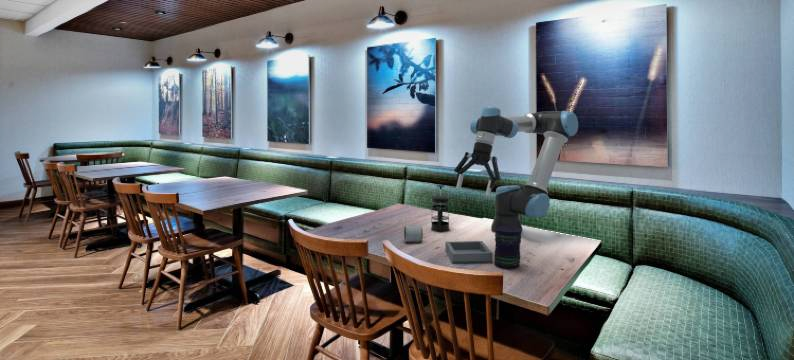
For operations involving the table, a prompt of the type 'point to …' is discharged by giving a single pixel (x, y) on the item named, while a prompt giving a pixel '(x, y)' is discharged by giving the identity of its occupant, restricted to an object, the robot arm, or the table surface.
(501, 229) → the storage jar
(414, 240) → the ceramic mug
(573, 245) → the table surface
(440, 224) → the french press
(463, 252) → the tray
